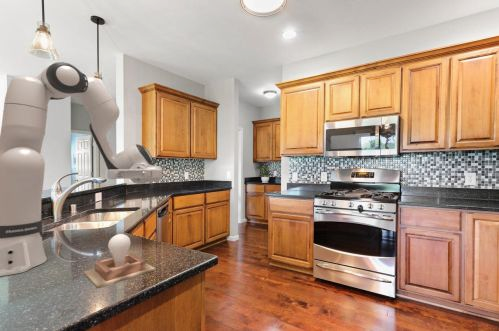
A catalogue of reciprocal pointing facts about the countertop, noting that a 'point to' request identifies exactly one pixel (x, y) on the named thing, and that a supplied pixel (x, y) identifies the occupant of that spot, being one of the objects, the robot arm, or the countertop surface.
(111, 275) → the socket block
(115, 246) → the lightbulb
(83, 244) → the countertop surface
